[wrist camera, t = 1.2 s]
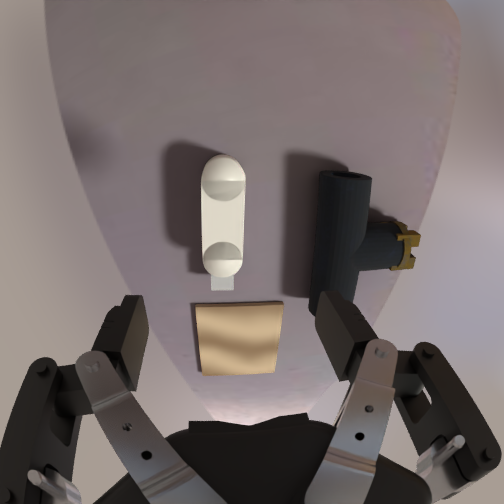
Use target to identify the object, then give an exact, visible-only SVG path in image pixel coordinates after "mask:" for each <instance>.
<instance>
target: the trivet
mask: <svg viewBox="0 0 504 504" xmlns="http://www.w3.org/2000/svg"><path fill="white" fill-rule="evenodd" d="M195 308H196V319H197V330H198V340H199V350H200V359H201V367H202V375H203V376H218V375H243V374H259V373H272V372H274V371H275V364H276V357H277V351H278V344H279V337H280V330H281V323H282V315H283V308H284V304H283V302H264V303H235V304H196V307H195Z"/></svg>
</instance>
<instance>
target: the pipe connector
mask: <svg viewBox="0 0 504 504" xmlns="http://www.w3.org/2000/svg"><path fill="white" fill-rule="evenodd" d="M371 183H372V178H371V177H369V176H367V175H363V174H359V173H354V172H347V171H321V172H320V180H319V198H318V213H317V227H316V239H315V250H314V261H313V271H312V280H311V289H310V297H309V306H308V308H309V311H310V312H311V314H312V315H314V316H316V312H317V307H318V302H319V297H320V293H321V292H322V291H333V290H338V291H339V292H340V294H341V295H342V297H343V298H344V300H349V301H350V302H352V303H353V299H354V295H355V290H356V285H357V280H358V275H359V271H367V270H378V269H388V268H389V269H390V270H391V271H393V270H402V269H412V268H413V267H414V262H415V259H416V257H414V256H413V255H412V254H411V247H417V246H419V242H420V237H421V235H420V234H419V233H417V232H416V231H414V230H407V227H408V226H407V225H405V224H404V223H402V222H398V221H390V222H380V223H367V219H368V211H369V203H370V194H371Z"/></svg>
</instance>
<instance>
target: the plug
mask: <svg viewBox="0 0 504 504" xmlns="http://www.w3.org/2000/svg"><path fill="white" fill-rule="evenodd" d="M244 206H245V174H244V171H243V169H242V168H241V166H240V165H239V163H238V162H237V160H236V159H234V158H233V157H231V156H229V155H224V154H221V155H216V156H214V157H212V158H211V159H210V160H209V161H208V162H207V163H206V165H205V167H204V170H203V174H202V178H201V212H202V253H203V265H204V267H205V269H206V270H207V271H208V272H209V273H210V274H211V290H234V274H235V273H236V272H237V271H238V270H239V269H240V267H241V265H242V261H243V234H244Z"/></svg>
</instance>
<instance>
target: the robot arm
mask: <svg viewBox="0 0 504 504" xmlns="http://www.w3.org/2000/svg"><path fill="white" fill-rule="evenodd" d="M315 327H316V331H317V333H318V335H319V337H320V340H321V342H322V344H323V346H324V348H325V351H326V353H327V355H328V357H329V359H330V362H331V364H332V366H333V368H334V370H335V373H336V375H337V377H338V379H339V382H340V381H345V380H349V382H350V385H349V388H348V390H347V393H346V395H345V398H344V400H343V403H342V405H341V408H340V410H339V412H338V414H337V417H336V419H335V421H334V423H333V425H330V424H327V423H323V422H319V421H314V420H309V418H308V415H307V413H301V414H294V415H287V416H279V417H276V418H273V419H270V420H267V421H264V422H261V423H258V424H254V425H249V426H248V425H240V424H234V423H228V422H222V421H189V429H185V430H181V431H178V432H176V433H173V434H171V435H169V436H168V437H166V438H164V437H163V436H162V434H161V433H160V432H159V431H158V429H157V428H156V427H155V425H154V424H153V423H152V421H151V420H150V419H149V417H148V416H147V415H146V413H145V412H144V410H143V409H142V408H141V406H140V405H139V403H138V402H137V400H136V399H135V397H134V396H133V394H132V393H131V392H130V391H136V389H137V384H138V379H139V375H140V370H141V365H142V360H143V356H144V352H145V347H146V343H147V339H148V334H149V325H148V319H147V315H146V310H145V305H144V300H143V297H142V295H126V296H125V297H124V299H123V301H122V303H121V306H114V307H113V308H112V309H111V310H110V311H109V312H108V313H107V315H106V317H105V320H104V322H103V324H102V326H101V329H100V331H99V333H98V335H97V338H96V340H95V342H94V345H93V347H92V349H91V351H89V352H86V353H84V354H82V355H81V356H80V357H79V358H78V359H77V361H76V364H72V365H66V366H57V364H56V362H55V361H54V360H53V359H51V358H48V357H43V358H39V359H37V360H36V361H34V362H33V363H32V364H31V366H30V367H29V369H28V372H27V374H26V376H25V379H24V381H23V383H22V386H21V388H20V391H19V393H18V396H17V398H16V401H15V404H14V407H13V409H12V412H11V415H10V418H9V421H8V424H7V427H6V430H5V433H4V437H3V440H2V444H1V447H0V504H82V503H81V496H80V492H79V490H78V489H77V488H76V486H75V485H74V484H73V483H72V474H73V466H74V458H75V453H76V446H77V440H78V435H79V429H80V424H81V420H82V415H87V414H95V416H96V418H97V420H98V422H99V424H100V426H101V428H102V430H103V431H104V433H105V435H106V437H107V439H108V440H109V442H110V444H111V445H112V447H113V449H114V450H115V452H116V454H117V455H118V457H119V458H120V460H121V462H122V463H123V465H124V466H125V468H126V469H127V471H128V473H127V474H126V475H125V476H124V477H122V478H121V479H120V480H119V481H118V482H117V483H116V484H115V485H114V486H113V487H111V488H110V489H109V490H108V491H107V492H106V493H105V494H104V495H103V496H101V497H100V498H99V499H98V500H97V501H95V502H94V503H93V504H433V503H435V502H437V501H439V500H440V499H448V498H450V497H452V496H454V495H456V494H457V493H459V492H461V491H462V490H464V489H466V488H467V487H469V486H470V485H472V484H473V483H475V482H476V481H478V480H479V479H481V478H482V477H484V476H485V475H487V474H488V473H489V472H491V471H492V470H493V469H495V468H496V467H497V466H498V464H499V463H500V460H501V449H500V446H499V444H498V442H497V440H496V439H495V437H494V435H493V433H492V431H491V429H490V428H489V426H488V424H487V422H486V421H485V419H484V417H483V415H482V414H481V412H480V410H479V409H478V407H477V405H476V404H475V403H474V401H473V399H472V397H471V396H470V394H469V393H468V391H467V389H466V388H465V386H464V385H463V383H462V382H461V380H460V379H459V377H458V376H457V374H456V373H455V371H454V370H453V368H452V367H451V365H450V364H449V363H448V361H447V360H446V358H445V357H444V356H443V354H442V353H441V351H440V350H439V349H438V348H437V347H436V346H435V345H433V344H431V343H428V342H420V343H418V344H417V345H416V346H415V348H414V350H413V351H398V350H397V349H396V347H395V346H394V345H393V344H392V343H391V342H389V341H387V340H383V339H379V338H378V337H377V335H376V334H375V332H374V331H373V329H372V328H371V326H370V325H369V323H368V322H367V320H365V317H364V316H363V315H362V314H361V312H360V310H359V309H358V307H357V306H356V305H355V304H353V303H352V302H350V301H349V300H344V298H343V297H342V295H341V294H340V292H339V291H338V290H333V291H322V292H321V293H320V297H319V302H318V307H317V312H316V316H315ZM424 386H425V388H426V390H427V392H428V393H429V395H430V397H431V401H432V404H430V402H429V401H428V399H427V397H426V395H425V393H424V392H423V390H422V389H423V388H424ZM393 399H394V401H395V404H396V406H397V408H398V410H399V412H400V414H401V416H402V419H403V421H404V423H405V425H406V427H407V430H408V432H409V434H410V437H411V439H412V441H413V443H414V446H415V448H416V450H417V453H418V455H419V458H418V460H417V469H416V472H415V473H414V472H412V471H410V470H408V469H406V468H404V467H402V466H401V465H399V464H397V463H395V462H393V461H391V460H390V459H388V458H386V457H384V456H382V455H381V454H379V451H380V448H381V445H382V441H383V437H384V435H385V431H386V427H387V423H388V420H389V416H390V412H391V408H392V403H393Z"/></svg>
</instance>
